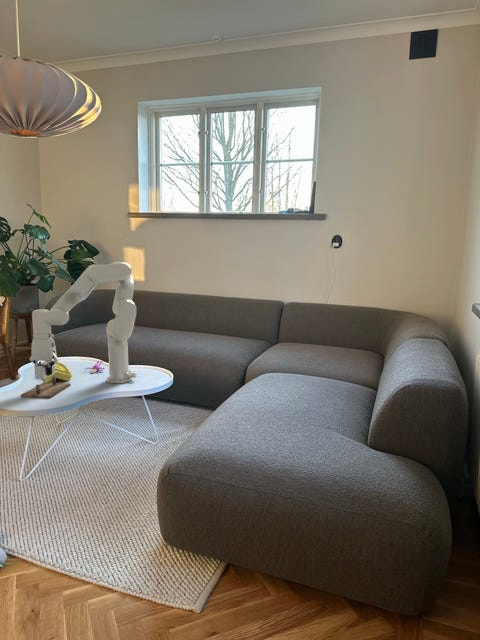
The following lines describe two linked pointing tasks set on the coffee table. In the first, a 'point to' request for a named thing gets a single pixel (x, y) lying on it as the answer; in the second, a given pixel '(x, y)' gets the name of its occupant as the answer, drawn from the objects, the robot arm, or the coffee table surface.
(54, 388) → the pin tray
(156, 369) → the coffee table surface
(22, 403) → the coffee table surface
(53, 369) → the block
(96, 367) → the purple doll figure
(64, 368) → the plastic component
